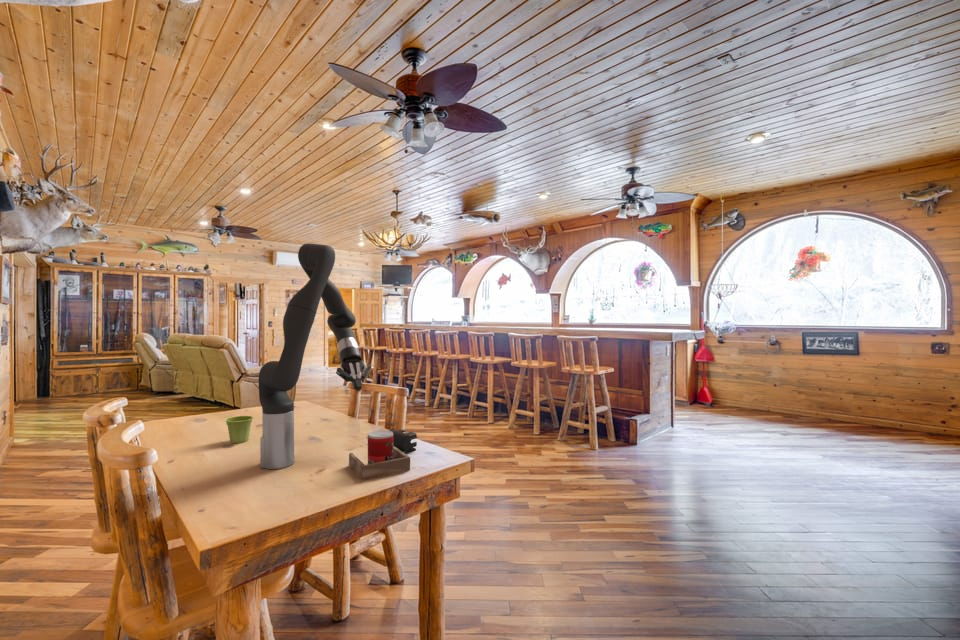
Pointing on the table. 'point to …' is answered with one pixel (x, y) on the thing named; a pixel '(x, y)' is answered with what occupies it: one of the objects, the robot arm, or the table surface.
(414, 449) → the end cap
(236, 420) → the plant pot
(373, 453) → the canned food
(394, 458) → the tray
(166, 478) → the table surface
